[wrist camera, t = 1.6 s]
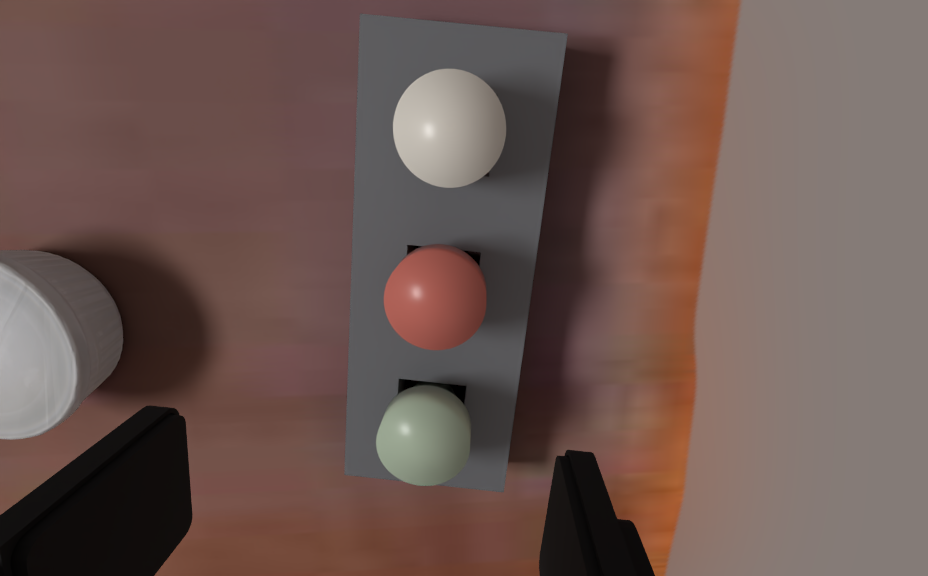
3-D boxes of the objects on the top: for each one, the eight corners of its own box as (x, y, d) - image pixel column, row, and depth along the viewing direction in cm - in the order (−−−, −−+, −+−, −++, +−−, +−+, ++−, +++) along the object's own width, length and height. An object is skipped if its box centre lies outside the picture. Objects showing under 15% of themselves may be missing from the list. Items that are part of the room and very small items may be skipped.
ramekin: (-30, 215, 30) (-134, 228, 25) (148, 259, 31) (81, 281, 26) (-25, 374, 33) (-116, 414, 28) (137, 413, 34) (76, 460, 29)
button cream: (496, 185, 27) (499, 193, 22) (406, 176, 27) (389, 182, 22) (507, 88, 26) (512, 74, 21) (412, 79, 26) (396, 62, 21)
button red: (481, 321, 29) (480, 355, 24) (398, 313, 29) (381, 344, 24) (491, 239, 28) (491, 257, 23) (403, 230, 28) (386, 246, 23)
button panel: (501, 462, 33) (503, 492, 31) (356, 446, 34) (344, 474, 31) (558, 46, 26) (567, 33, 23) (373, 28, 26) (360, 13, 24)
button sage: (468, 439, 31) (465, 490, 27) (390, 430, 31) (374, 480, 27) (476, 368, 30) (474, 408, 25) (395, 359, 30) (378, 398, 25)
